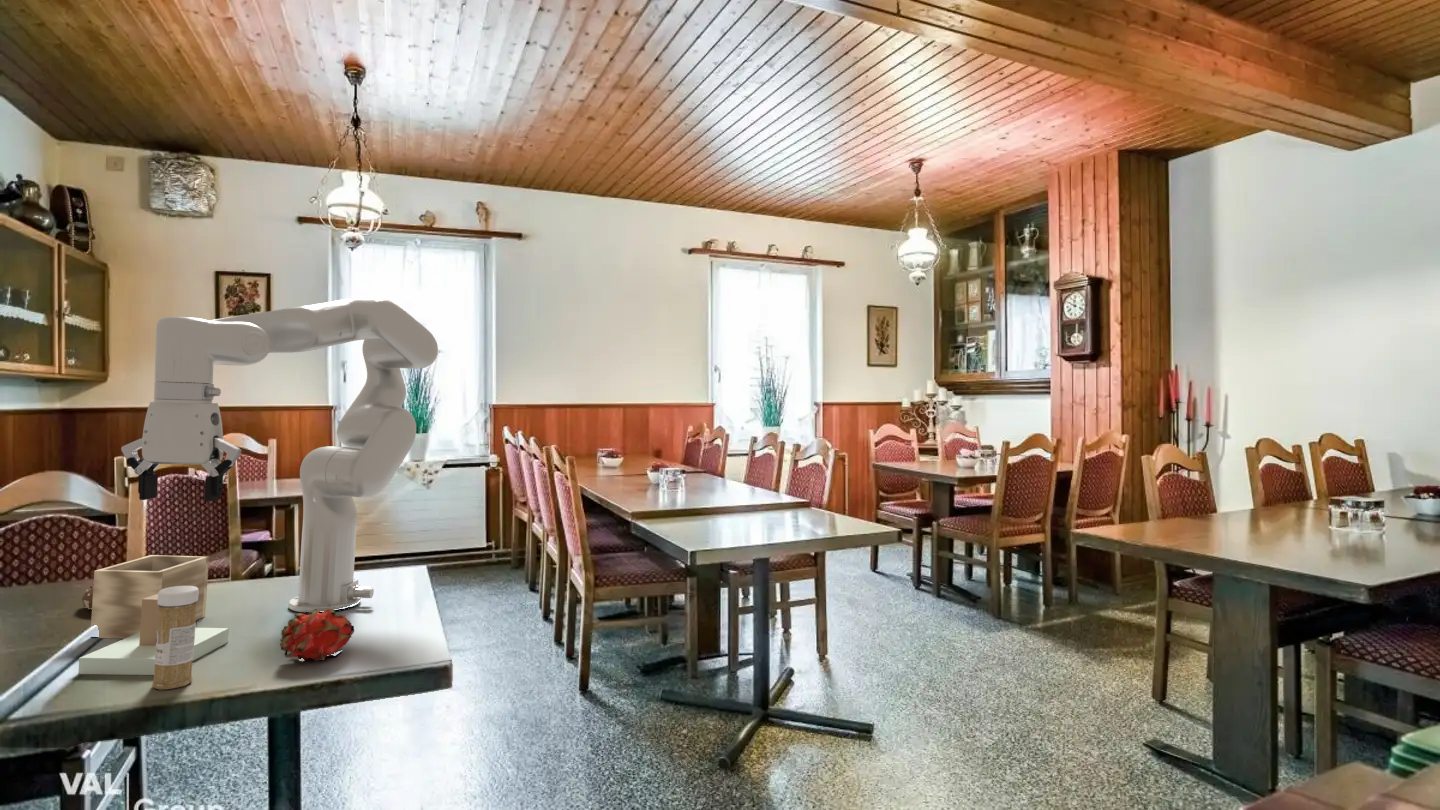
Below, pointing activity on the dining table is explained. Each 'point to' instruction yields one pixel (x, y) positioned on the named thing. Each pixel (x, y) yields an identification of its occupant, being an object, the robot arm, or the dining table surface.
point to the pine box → (142, 590)
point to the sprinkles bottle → (175, 637)
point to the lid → (145, 647)
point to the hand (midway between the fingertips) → (180, 499)
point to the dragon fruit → (315, 634)
